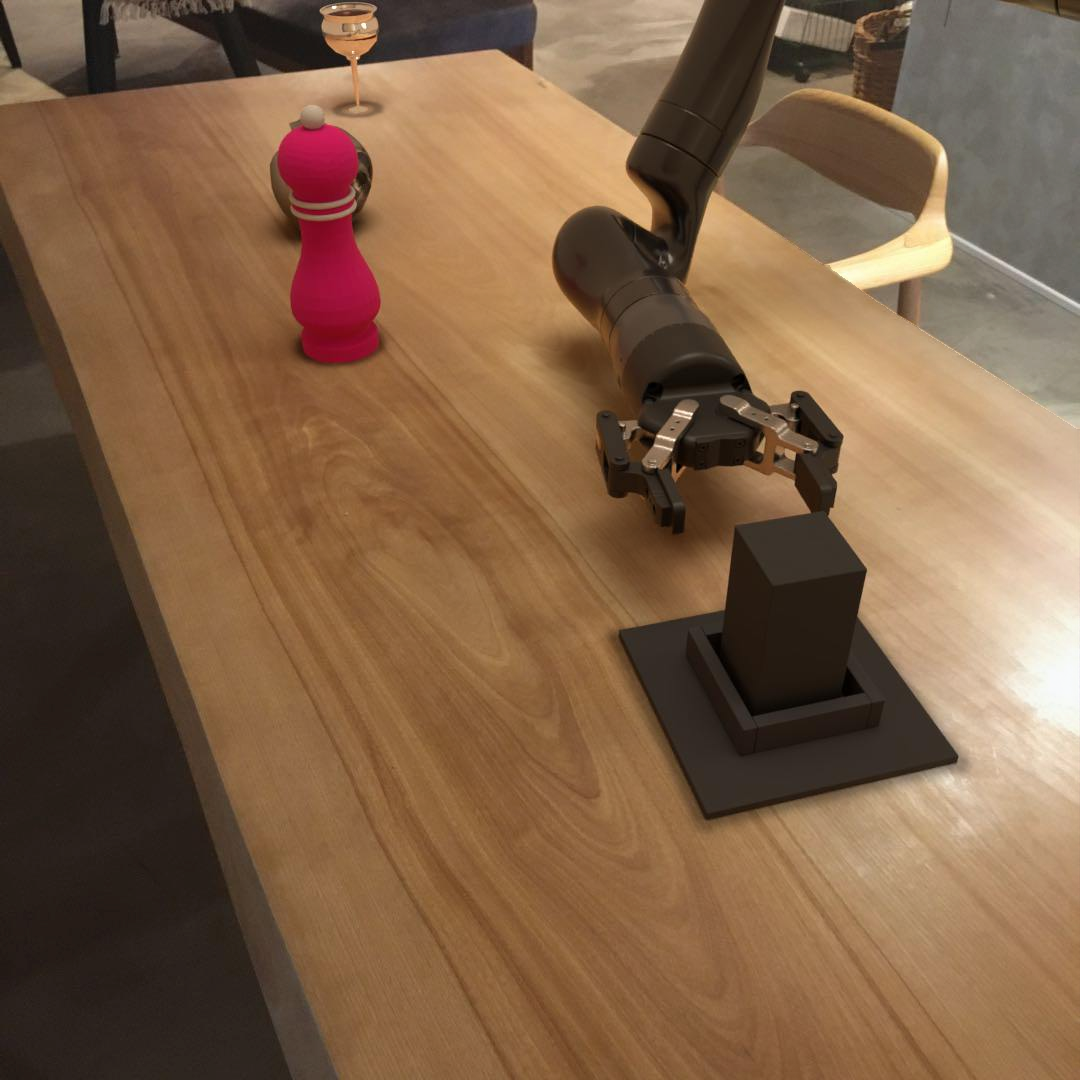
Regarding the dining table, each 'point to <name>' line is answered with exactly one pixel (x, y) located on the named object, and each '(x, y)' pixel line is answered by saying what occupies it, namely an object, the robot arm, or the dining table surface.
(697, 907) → the dining table surface
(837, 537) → the pad block
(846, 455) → the dining table surface
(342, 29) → the wineglass
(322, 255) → the pepper mill
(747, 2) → the robot arm
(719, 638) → the base pad
